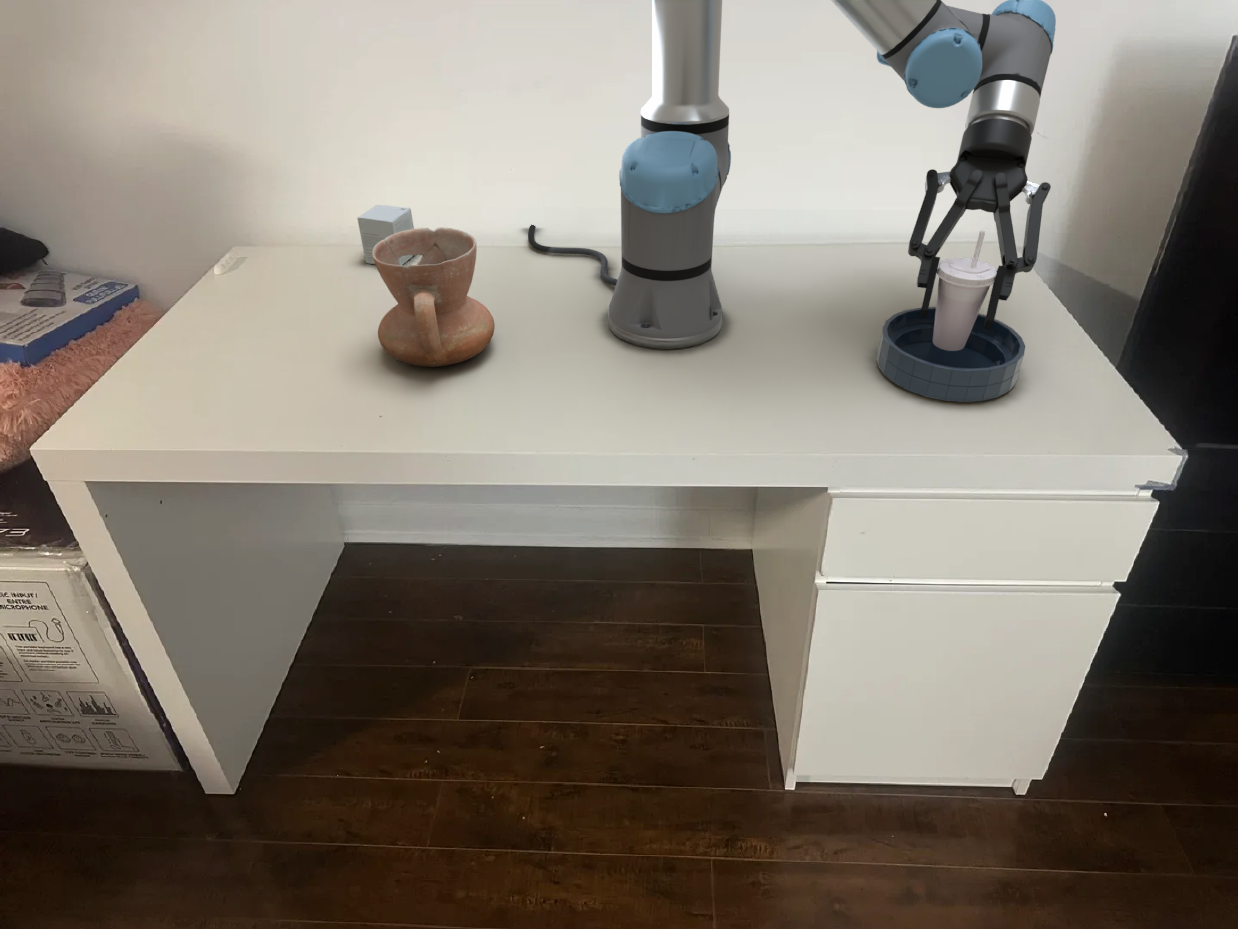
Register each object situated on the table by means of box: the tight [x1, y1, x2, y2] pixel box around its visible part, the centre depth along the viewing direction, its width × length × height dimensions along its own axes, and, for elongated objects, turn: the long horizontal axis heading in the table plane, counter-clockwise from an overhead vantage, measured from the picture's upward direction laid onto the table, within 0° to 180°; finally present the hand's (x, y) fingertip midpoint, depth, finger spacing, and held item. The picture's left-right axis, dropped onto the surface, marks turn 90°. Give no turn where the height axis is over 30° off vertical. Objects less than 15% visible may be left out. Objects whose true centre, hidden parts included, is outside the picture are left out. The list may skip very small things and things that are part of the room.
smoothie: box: [933, 230, 997, 351], centre depth 100 cm, size 6×6×14 cm
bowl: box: [876, 306, 1026, 403], centre depth 105 cm, size 16×16×4 cm
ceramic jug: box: [372, 226, 495, 368], centre depth 107 cm, size 18×14×14 cm
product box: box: [357, 204, 415, 266], centre depth 134 cm, size 6×6×7 cm
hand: (955, 319), depth 99 cm, fingers closed on smoothie, 6 cm apart
